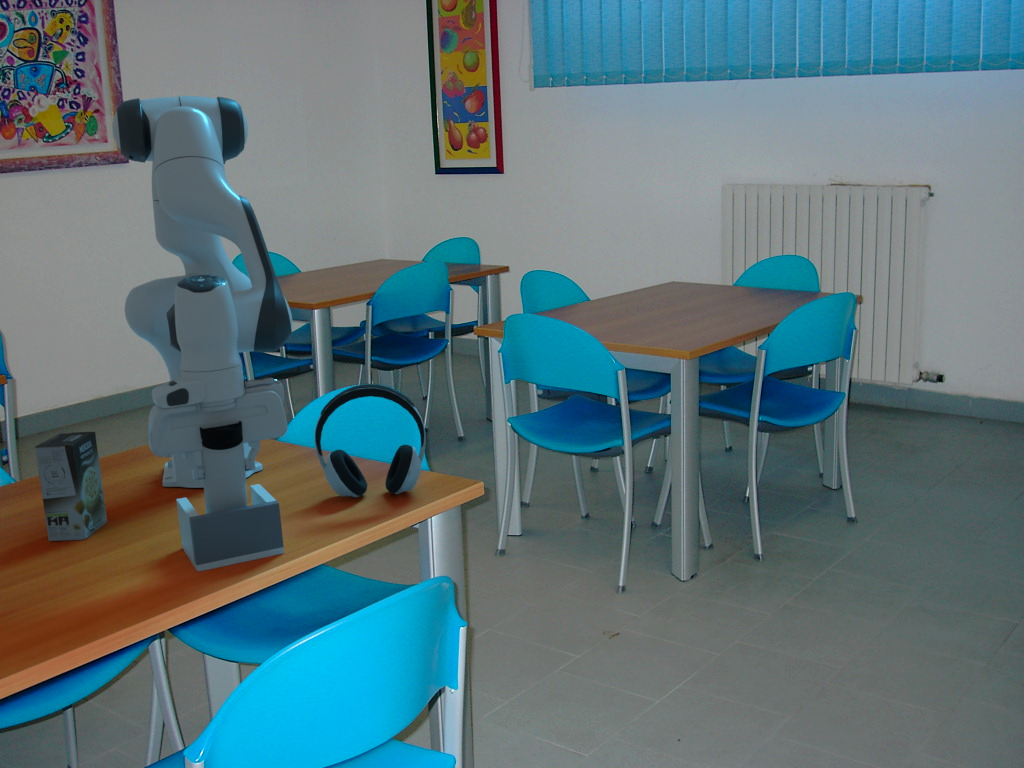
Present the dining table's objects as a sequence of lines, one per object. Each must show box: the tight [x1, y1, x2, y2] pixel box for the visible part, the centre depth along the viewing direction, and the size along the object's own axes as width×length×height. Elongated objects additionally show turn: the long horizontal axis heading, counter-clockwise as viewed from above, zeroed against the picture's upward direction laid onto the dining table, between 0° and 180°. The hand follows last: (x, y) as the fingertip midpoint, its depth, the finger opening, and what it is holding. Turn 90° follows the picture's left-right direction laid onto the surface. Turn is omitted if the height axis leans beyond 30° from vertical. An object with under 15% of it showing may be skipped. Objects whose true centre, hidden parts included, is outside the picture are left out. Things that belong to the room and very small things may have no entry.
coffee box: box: [34, 431, 108, 542], centre depth 179 cm, size 9×6×16 cm
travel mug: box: [200, 421, 248, 514], centre depth 165 cm, size 6×7×20 cm
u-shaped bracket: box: [176, 483, 285, 573], centre depth 167 cm, size 12×13×8 cm
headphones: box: [314, 383, 427, 498], centre depth 189 cm, size 19×8×20 cm, turn 95°
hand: (224, 474), depth 165 cm, fingers closed on travel mug, 6 cm apart
